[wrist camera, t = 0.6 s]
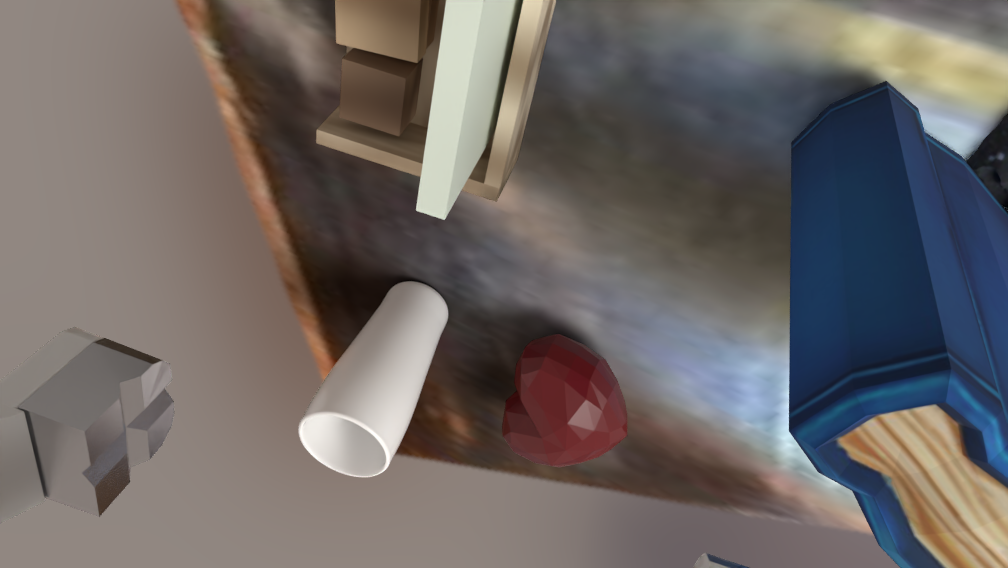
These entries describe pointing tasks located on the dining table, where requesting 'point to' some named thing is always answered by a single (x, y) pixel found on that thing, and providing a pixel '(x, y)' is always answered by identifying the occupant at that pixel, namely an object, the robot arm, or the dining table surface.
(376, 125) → the offcut small
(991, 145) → the dark slate chunk
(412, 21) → the offcut top
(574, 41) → the dining table surface
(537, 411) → the heart
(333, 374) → the drinking glass
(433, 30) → the offcut low
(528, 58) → the rack
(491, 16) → the sheet
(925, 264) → the book
